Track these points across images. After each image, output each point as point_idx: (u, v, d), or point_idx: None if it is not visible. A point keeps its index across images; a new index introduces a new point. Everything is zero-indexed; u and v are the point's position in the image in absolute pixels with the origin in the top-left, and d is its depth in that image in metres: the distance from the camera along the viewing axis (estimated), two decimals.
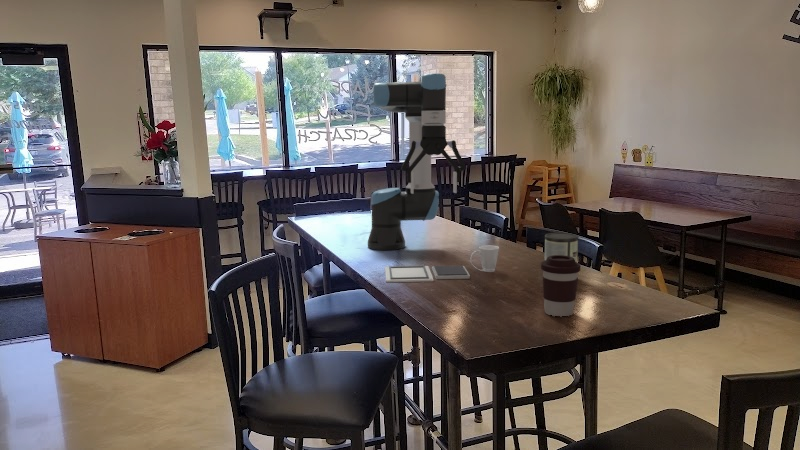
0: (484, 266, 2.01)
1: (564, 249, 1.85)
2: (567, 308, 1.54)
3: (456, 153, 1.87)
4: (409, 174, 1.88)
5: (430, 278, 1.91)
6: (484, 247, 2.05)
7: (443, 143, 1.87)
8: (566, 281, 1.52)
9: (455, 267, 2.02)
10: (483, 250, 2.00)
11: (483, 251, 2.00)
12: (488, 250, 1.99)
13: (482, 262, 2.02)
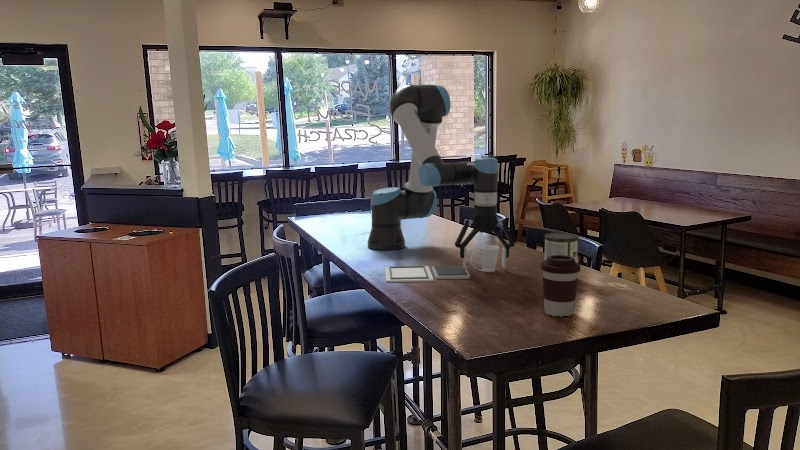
0: (484, 266, 2.01)
1: (564, 249, 1.85)
2: (567, 308, 1.54)
3: (506, 231, 2.00)
4: (462, 250, 2.01)
5: (430, 278, 1.91)
6: (484, 247, 2.05)
7: (494, 221, 1.99)
8: (566, 281, 1.52)
9: (455, 267, 2.02)
10: (483, 250, 2.00)
11: (483, 251, 2.00)
12: (488, 250, 1.99)
13: (482, 262, 2.02)
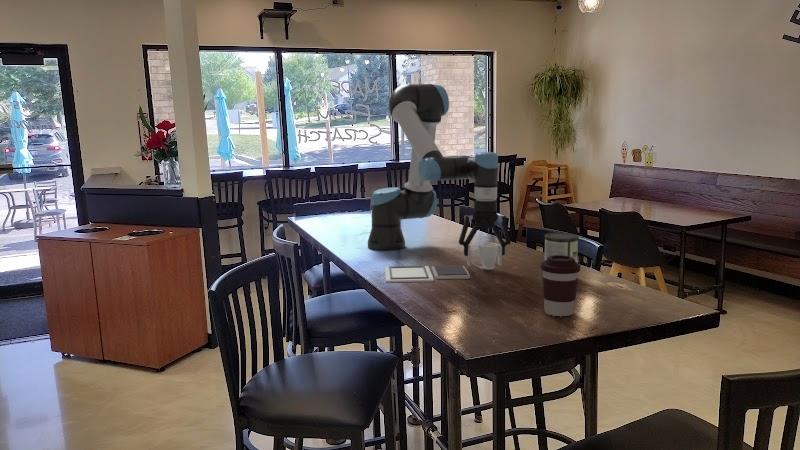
0: (484, 263, 2.02)
1: (564, 249, 1.85)
2: (567, 308, 1.54)
3: (504, 228, 2.00)
4: (466, 248, 2.01)
5: (430, 278, 1.91)
6: (484, 244, 2.05)
7: (494, 216, 1.99)
8: (566, 281, 1.52)
9: (455, 267, 2.02)
10: (482, 247, 2.00)
11: (483, 248, 2.00)
12: (488, 247, 1.99)
13: (482, 259, 2.02)
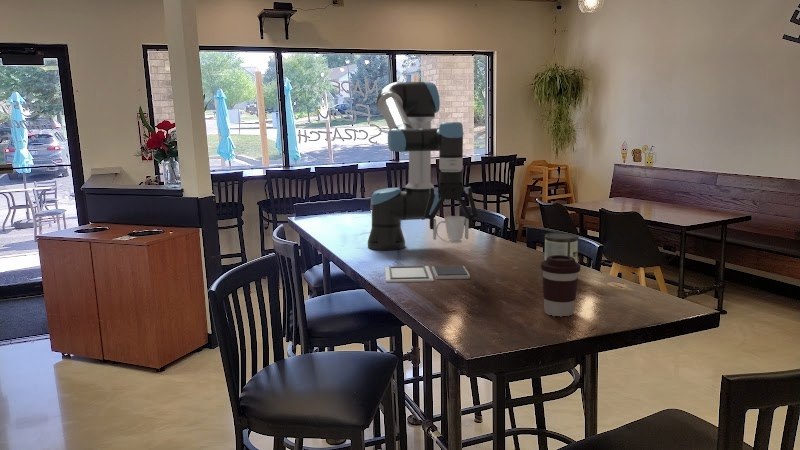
0: (450, 237, 1.96)
1: (564, 249, 1.85)
2: (567, 308, 1.54)
3: (471, 200, 1.94)
4: (432, 221, 1.95)
5: (430, 278, 1.91)
6: (450, 218, 1.99)
7: (460, 188, 1.94)
8: (566, 281, 1.52)
9: (455, 267, 2.02)
10: (448, 220, 1.94)
11: (448, 221, 1.94)
12: (453, 220, 1.93)
13: (448, 233, 1.96)
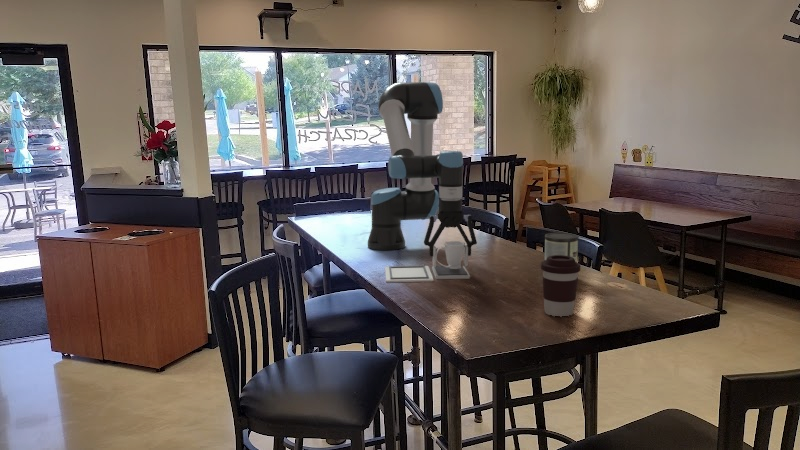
0: (449, 263, 1.98)
1: (564, 249, 1.85)
2: (567, 308, 1.54)
3: (470, 228, 1.96)
4: (431, 248, 1.97)
5: (430, 278, 1.91)
6: (450, 243, 2.01)
7: (460, 216, 1.95)
8: (566, 281, 1.52)
9: None
10: (448, 246, 1.96)
11: (448, 247, 1.96)
12: (453, 246, 1.95)
13: (447, 258, 1.98)
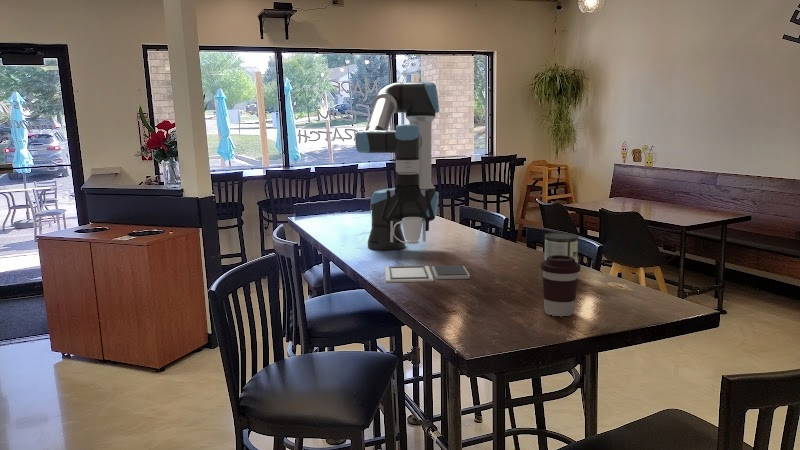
0: (407, 238, 1.95)
1: (564, 249, 1.85)
2: (567, 308, 1.54)
3: (427, 202, 1.94)
4: (389, 223, 1.95)
5: (430, 278, 1.91)
6: (408, 219, 1.98)
7: (417, 191, 1.93)
8: (566, 281, 1.52)
9: (455, 267, 2.02)
10: (405, 221, 1.94)
11: (405, 222, 1.94)
12: (410, 221, 1.93)
13: (405, 234, 1.96)
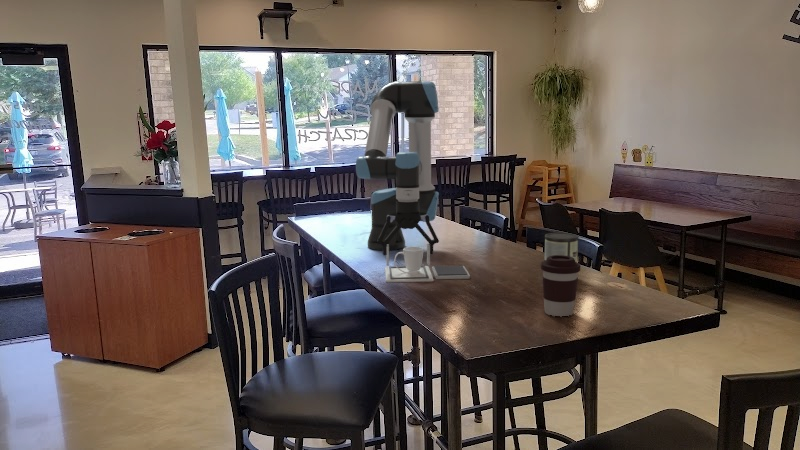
0: (408, 268, 1.97)
1: (564, 249, 1.85)
2: (567, 308, 1.54)
3: (429, 227, 1.95)
4: (385, 247, 1.96)
5: (430, 278, 1.91)
6: (409, 248, 2.00)
7: (417, 218, 1.95)
8: (566, 281, 1.52)
9: (455, 267, 2.02)
10: (406, 251, 1.96)
11: (406, 253, 1.96)
12: (411, 252, 1.95)
13: (406, 264, 1.98)
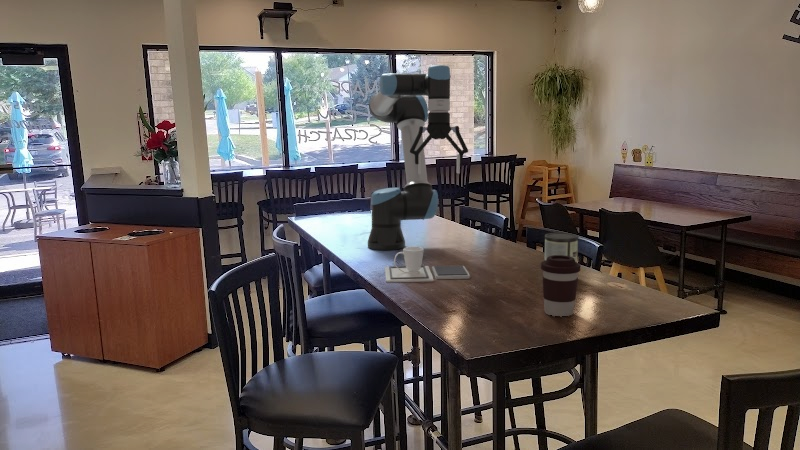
0: (408, 268, 1.97)
1: (564, 249, 1.85)
2: (567, 308, 1.54)
3: (459, 137, 2.08)
4: (417, 156, 2.08)
5: (430, 278, 1.91)
6: (409, 248, 2.00)
7: (447, 128, 2.07)
8: (566, 281, 1.52)
9: (455, 267, 2.02)
10: (406, 251, 1.96)
11: (406, 252, 1.96)
12: (411, 251, 1.95)
13: (406, 264, 1.98)
